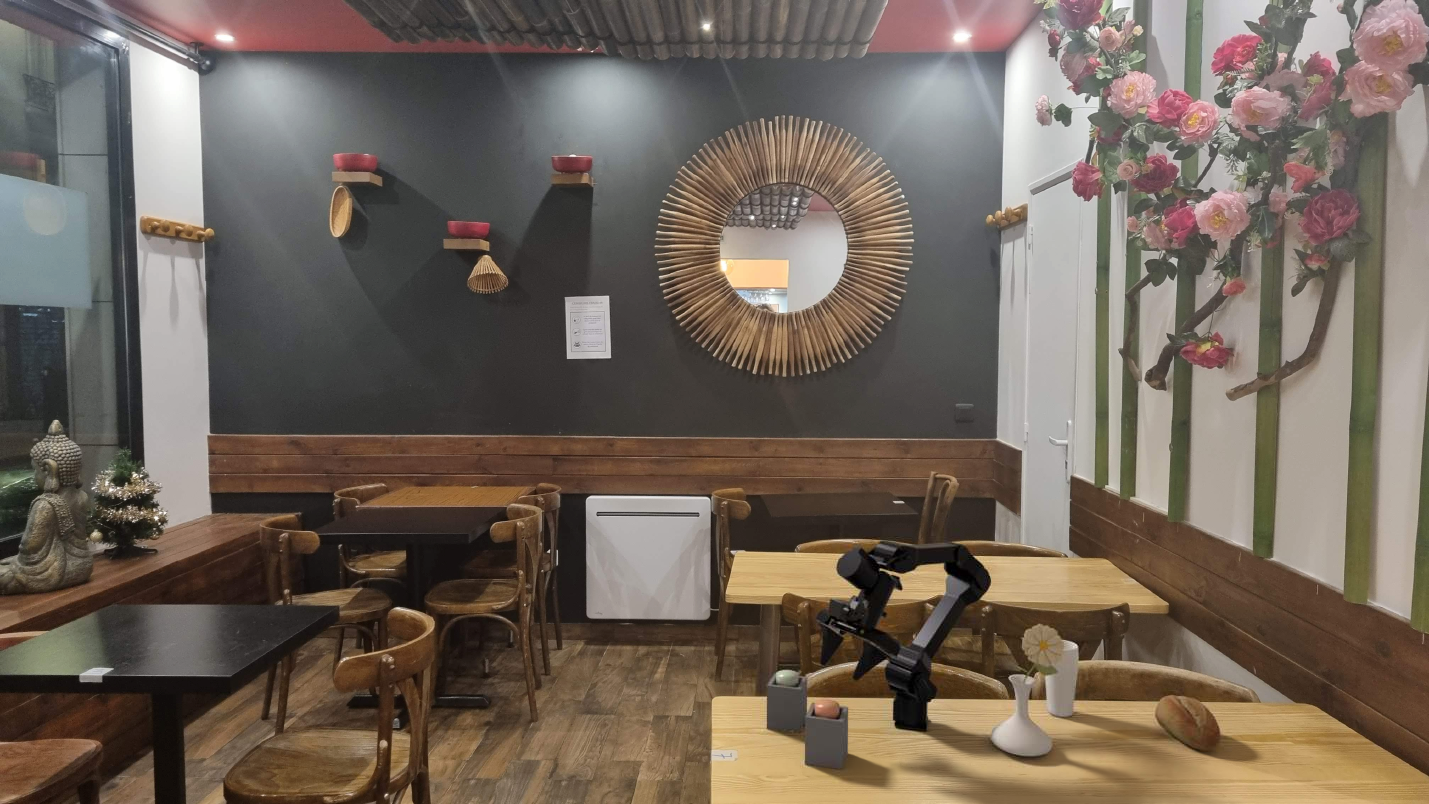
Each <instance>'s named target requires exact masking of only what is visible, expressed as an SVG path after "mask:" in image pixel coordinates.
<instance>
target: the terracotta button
mask: <svg viewBox="0 0 1429 804" xmlns="http://www.w3.org/2000/svg"><path fill="white" fill-rule="evenodd" d="M814 703H815V717H822V718H830V719H837V720H839V706H840V703H839V702H838V701H836V700H833V699H826V698H824V699H819V700H816V701H815V702H814Z"/></svg>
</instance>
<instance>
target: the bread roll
mask: <svg viewBox="0 0 1429 804" xmlns="http://www.w3.org/2000/svg"><path fill="white" fill-rule="evenodd" d="M1154 717H1155V719H1156V721H1157V723H1158V724H1159V726H1160V727H1161V728H1163V729H1164V730H1166V731H1167V732H1168V733H1169V734H1171V735H1172V736H1174V737H1175V738H1176V739H1178V740H1179V741H1180V742H1182V743H1183V744H1185V745H1187V746H1190V747H1191V748H1194V749H1196V750H1201V751H1207V752H1208V751H1214V750H1215V749H1216V748H1217V747H1218V745H1219V744H1220V740H1221V728H1220V725H1219V724H1218V722H1217V721H1218V720H1217V719H1216V717H1215V716H1214V714H1213V713H1212V712H1211V711H1210V710H1209V708H1207V706H1206V705H1204V703H1202V702H1200V701H1199V700H1198V699H1195V698H1192V697H1188V696H1185V695H1174V694H1171V695H1167V696H1163V697H1162V698H1160V700H1159V701H1158V703H1157V705H1156V707H1155V711H1154Z"/></svg>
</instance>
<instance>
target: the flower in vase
mask: <svg viewBox="0 0 1429 804" xmlns="http://www.w3.org/2000/svg"><path fill="white" fill-rule="evenodd" d="M1061 640H1062V637H1061V636H1060V635H1059V634H1058V631H1057V630H1056V629H1055V628H1053V627H1052V628H1051V627H1050V626H1049V625H1043V624H1041V623H1038V624H1037V625H1034V626H1032V627H1031V628H1028V629H1026V630H1025V632H1024V634H1023V638H1022V644H1021V648H1022V650H1023V651H1024V655H1025V656H1027V659H1028V661H1029V662H1032V663H1033V665H1032V667H1031V668H1030V669H1029V671H1028V670H1026V669H1025V668H1024V667H1020V666H1018V665H1016V664H1015V663H1013V662H1012V661H1011V660H1010V661H1009V663H1010V665H1011V666H1012V667H1014V668H1016V669H1018V670H1021V671H1022V672H1025V673H1026V674H1012V675H1009V677H1008V680H1009V681H1010V683H1011V684H1012V686H1013V689H1014V695H1015V711H1014V713H1013V715H1012V716H1011V717H1009V718H1008V719H1006V720H1004V721H1002V722H1001V723H999V724H997V725H996V726H995V727H993V728H992V730H991V733H990V735H989V737H990V739H991V741H992V743H993V745H995V747H997V748H999V749H1000V750H1002V751H1004V752H1007V753H1009V754H1013V755H1017V756H1022V757H1038V756H1039V757H1040V756H1043V755H1046V754H1048V753H1050V751H1051V750H1052V748H1053V742H1052V741H1053V740H1051V737H1050V736H1049V735H1048V734H1047V733H1046V731H1044V730H1043V729H1042V727H1040V726H1039V725H1038V724H1037V723H1036V722H1034V721H1033V720H1032V718H1031V717H1030V715H1029V697H1030V694H1031V691H1032V688H1033V687H1034V685H1035V684H1036V683H1037V680H1036V678H1034V677H1032V676H1029V675H1030V674H1031V672H1032V671H1033V670H1034V669H1036V670H1037V671H1038V672H1039V673H1040V675H1042V676H1044V677H1045V676H1048V675H1053V674H1056V673H1058V671H1057V670H1056V669H1055V668H1054V667H1053V666H1052V663H1053V664H1056V663H1057V662H1058V661H1061V660H1062V654H1064V651H1063V649H1064V642H1063V641H1061Z"/></svg>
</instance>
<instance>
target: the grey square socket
mask: <svg viewBox="0 0 1429 804" xmlns="http://www.w3.org/2000/svg"><path fill="white" fill-rule="evenodd" d="M776 673H777V672H774V674H773V675H772V676H771V678H770V680H769V681H768V683H767V684H766V729H767V728H768V729H767V730H774V729H775V731H781V730H784V731H783V732H788V731H793V732H792V733H796V732H801V733H802V730H803V728H804V726H805V724H804V723H805V716H806V714H807V712H808V677H807V676H801V675H799V679H798V688H796V687H788V686H780V685H776ZM803 725H804V726H803ZM802 727H803V728H802ZM785 730H786V731H785Z"/></svg>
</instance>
